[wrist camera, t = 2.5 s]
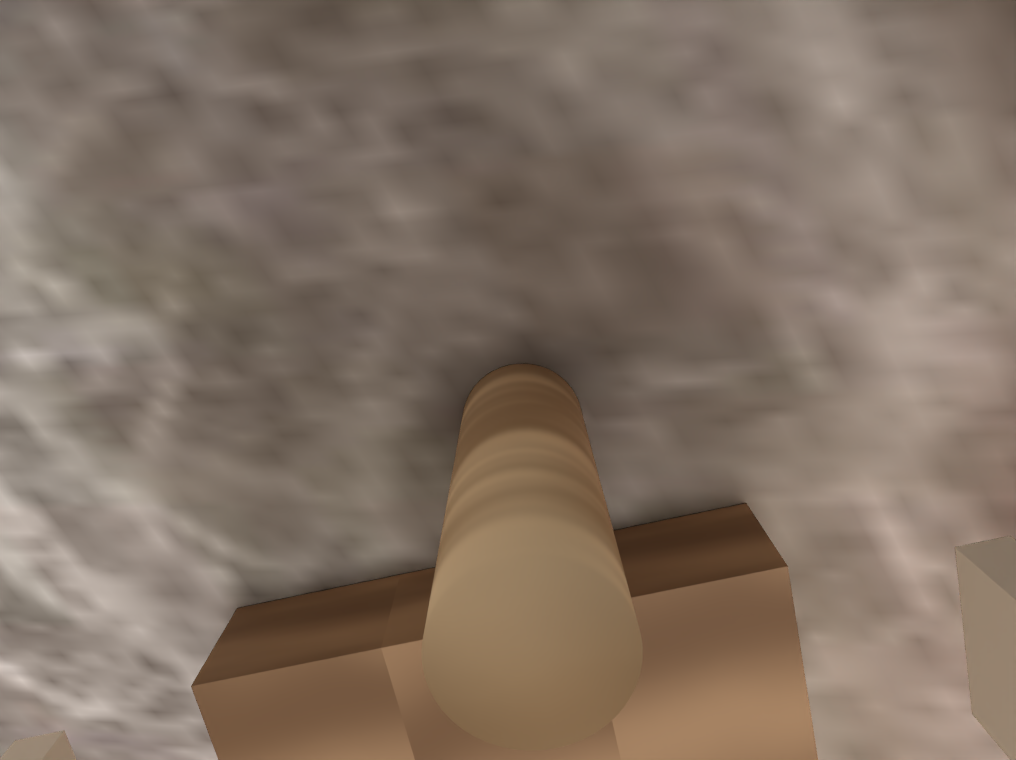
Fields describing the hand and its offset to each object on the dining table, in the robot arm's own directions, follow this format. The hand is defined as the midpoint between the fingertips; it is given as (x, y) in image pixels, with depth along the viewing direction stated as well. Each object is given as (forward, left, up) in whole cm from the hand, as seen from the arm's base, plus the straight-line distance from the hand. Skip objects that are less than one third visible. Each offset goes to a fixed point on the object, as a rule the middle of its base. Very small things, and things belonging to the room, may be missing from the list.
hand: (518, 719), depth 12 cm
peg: (0, 0, -13) cm, 13 cm away
